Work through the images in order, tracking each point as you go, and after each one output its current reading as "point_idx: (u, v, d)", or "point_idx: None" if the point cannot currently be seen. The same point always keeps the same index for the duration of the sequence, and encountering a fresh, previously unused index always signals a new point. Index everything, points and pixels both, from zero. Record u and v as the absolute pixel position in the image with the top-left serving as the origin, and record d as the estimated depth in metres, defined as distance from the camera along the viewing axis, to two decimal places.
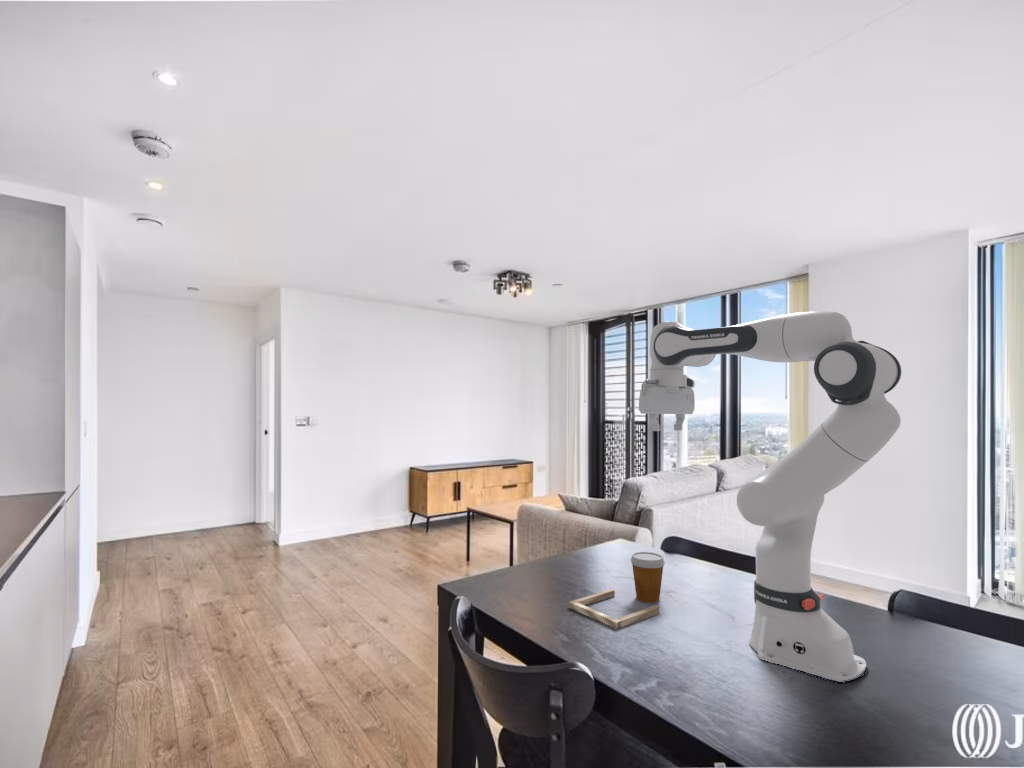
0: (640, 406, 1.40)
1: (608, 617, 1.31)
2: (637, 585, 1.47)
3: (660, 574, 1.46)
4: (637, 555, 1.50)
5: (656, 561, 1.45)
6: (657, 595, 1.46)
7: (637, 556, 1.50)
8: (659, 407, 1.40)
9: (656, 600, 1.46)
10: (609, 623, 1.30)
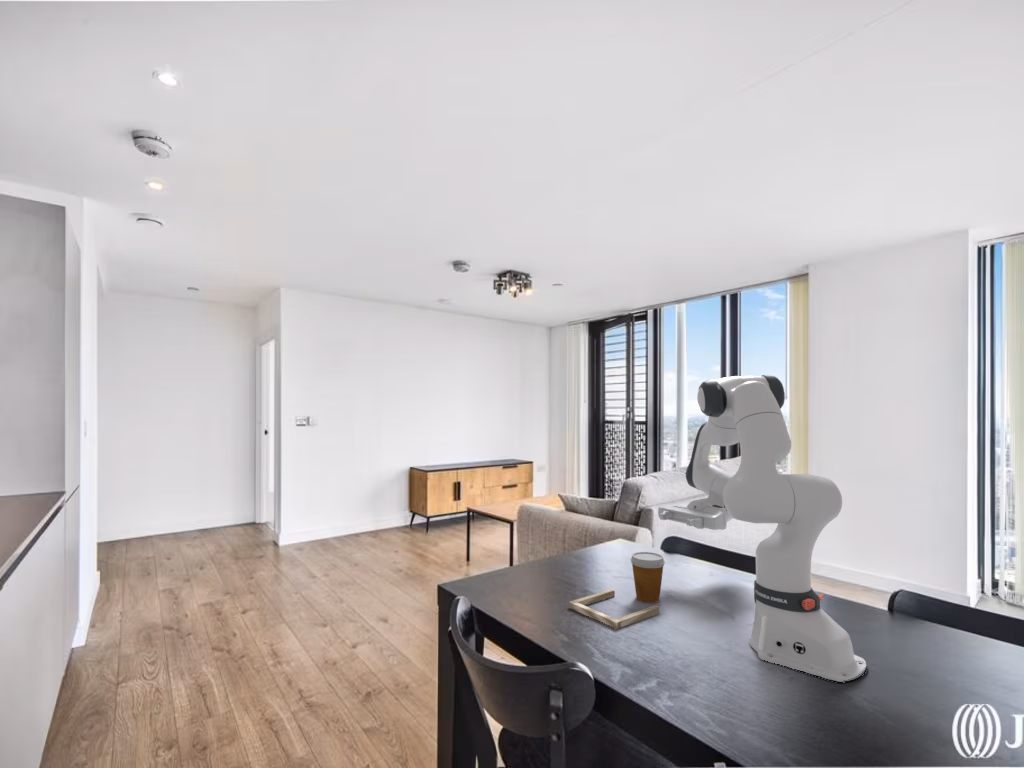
0: None
1: (608, 617, 1.31)
2: (637, 585, 1.47)
3: (660, 574, 1.46)
4: (637, 555, 1.50)
5: (656, 561, 1.45)
6: (657, 595, 1.46)
7: (637, 556, 1.50)
8: (671, 508, 1.65)
9: (656, 600, 1.46)
10: (609, 623, 1.30)
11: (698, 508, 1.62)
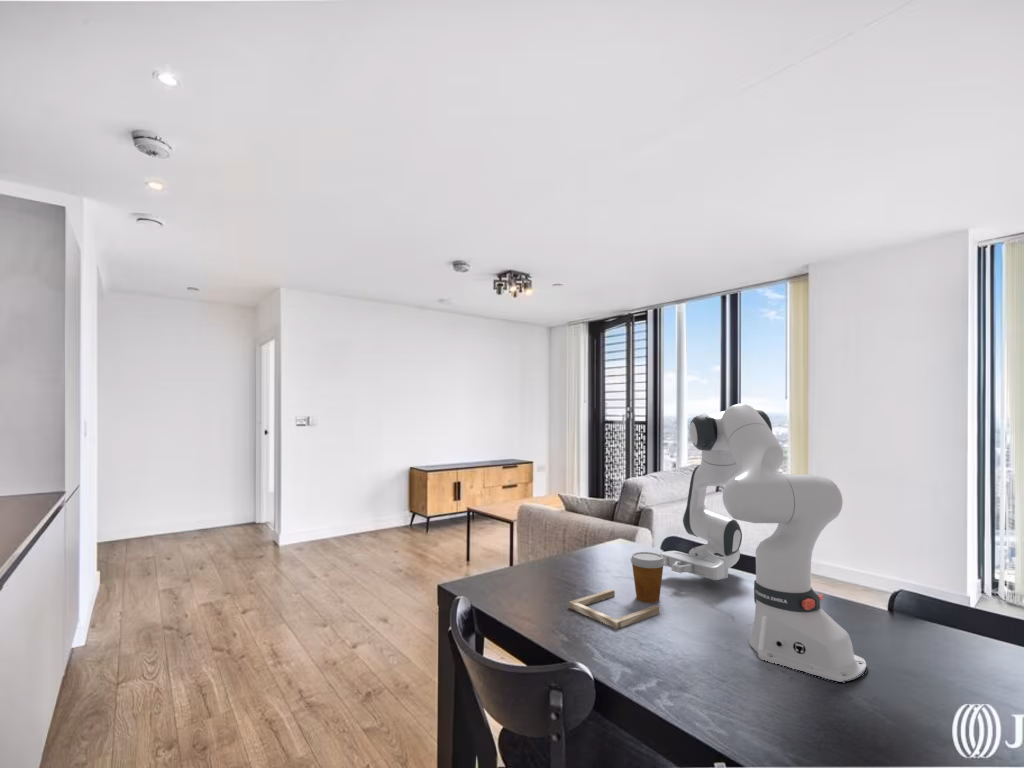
0: None
1: (608, 617, 1.31)
2: (637, 585, 1.47)
3: (660, 574, 1.46)
4: (637, 555, 1.50)
5: (656, 561, 1.45)
6: (657, 595, 1.46)
7: (637, 556, 1.50)
8: (672, 555, 1.65)
9: (656, 600, 1.46)
10: (609, 623, 1.30)
11: (699, 556, 1.62)
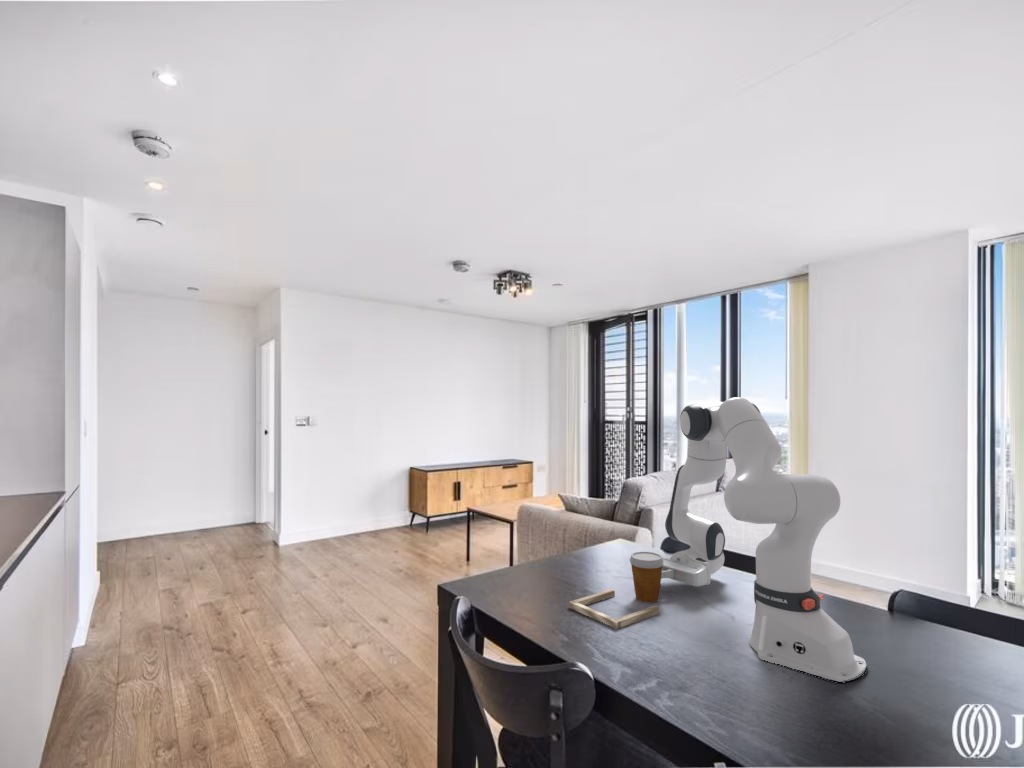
0: None
1: (608, 617, 1.31)
2: (636, 585, 1.47)
3: (659, 574, 1.45)
4: (636, 555, 1.50)
5: (655, 561, 1.44)
6: (656, 595, 1.46)
7: (636, 556, 1.49)
8: None
9: (655, 600, 1.46)
10: (609, 623, 1.30)
11: (681, 561, 1.56)
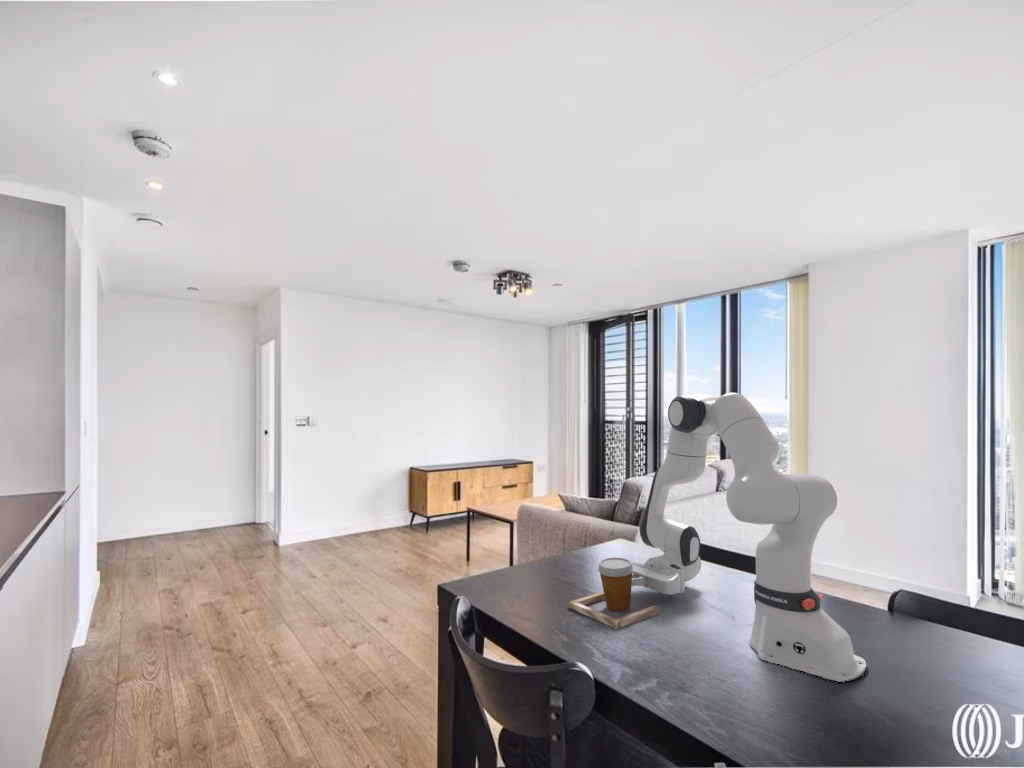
0: None
1: (608, 617, 1.31)
2: (606, 594, 1.40)
3: (628, 582, 1.38)
4: (605, 562, 1.43)
5: (623, 569, 1.37)
6: (627, 603, 1.39)
7: (604, 563, 1.42)
8: None
9: (626, 608, 1.39)
10: (609, 623, 1.30)
11: (655, 567, 1.49)
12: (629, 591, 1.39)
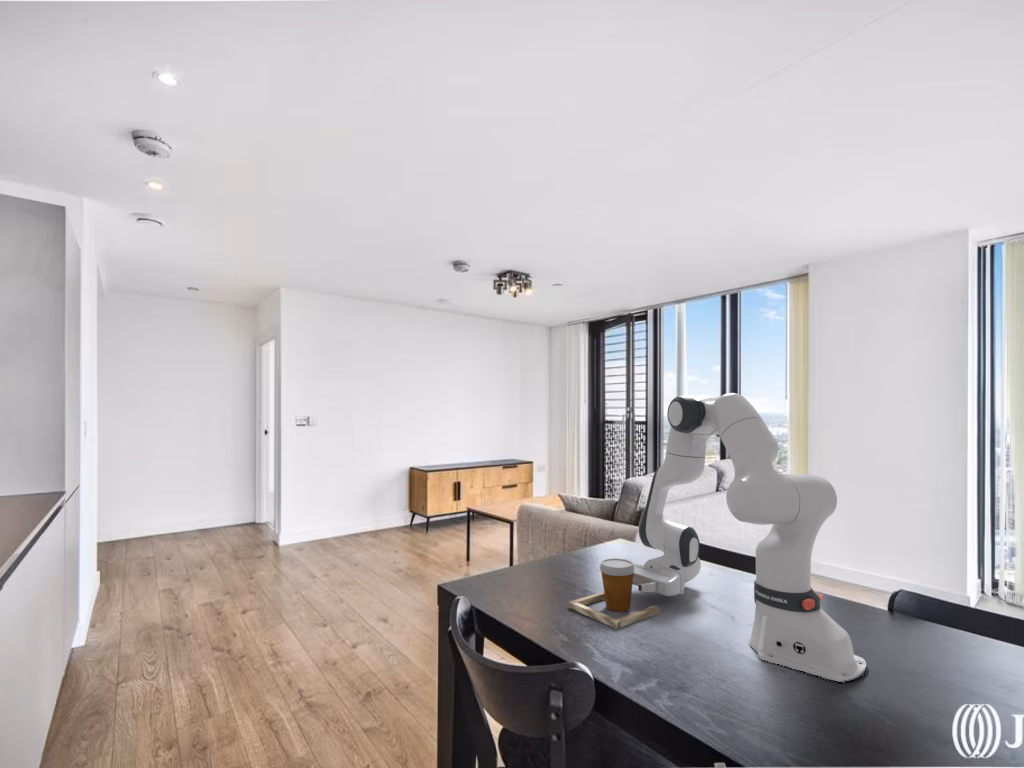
0: None
1: (608, 617, 1.31)
2: (606, 594, 1.40)
3: (629, 582, 1.39)
4: (606, 562, 1.44)
5: (625, 568, 1.38)
6: (627, 604, 1.39)
7: (606, 563, 1.43)
8: None
9: (626, 609, 1.39)
10: (609, 623, 1.30)
11: (654, 569, 1.49)
12: (630, 592, 1.39)
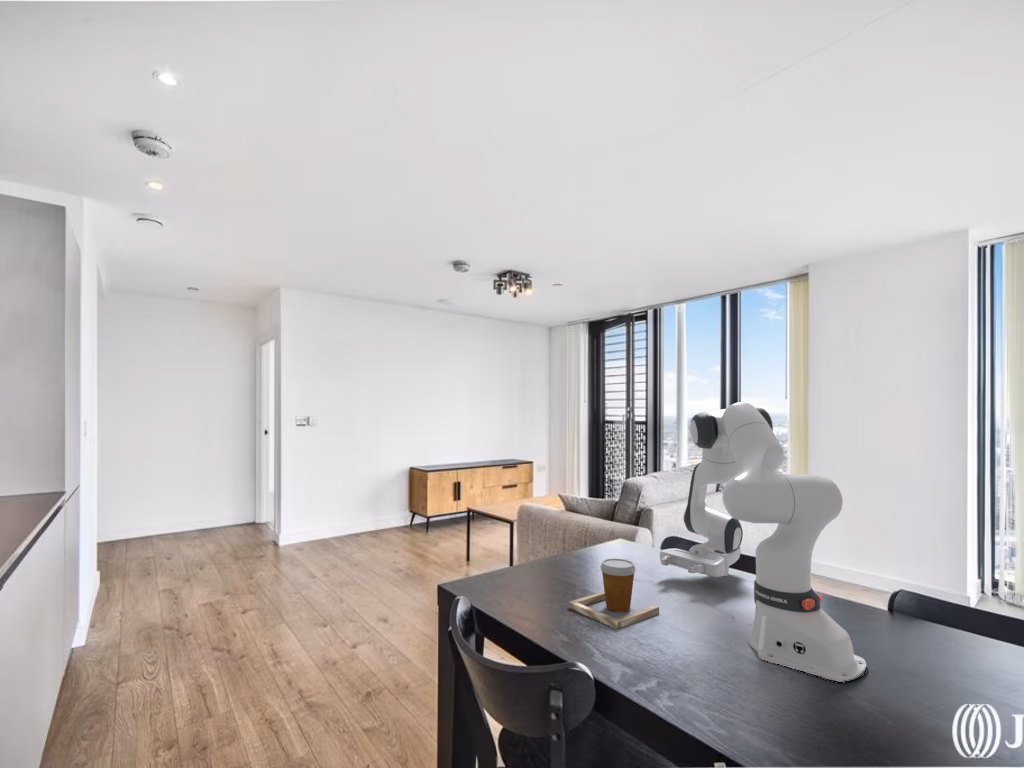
0: None
1: (608, 617, 1.31)
2: (606, 593, 1.40)
3: (630, 582, 1.39)
4: (607, 562, 1.44)
5: (626, 568, 1.38)
6: (627, 604, 1.39)
7: (607, 563, 1.43)
8: (672, 552, 1.65)
9: (626, 609, 1.39)
10: (609, 623, 1.30)
11: (700, 553, 1.62)
12: (630, 592, 1.39)
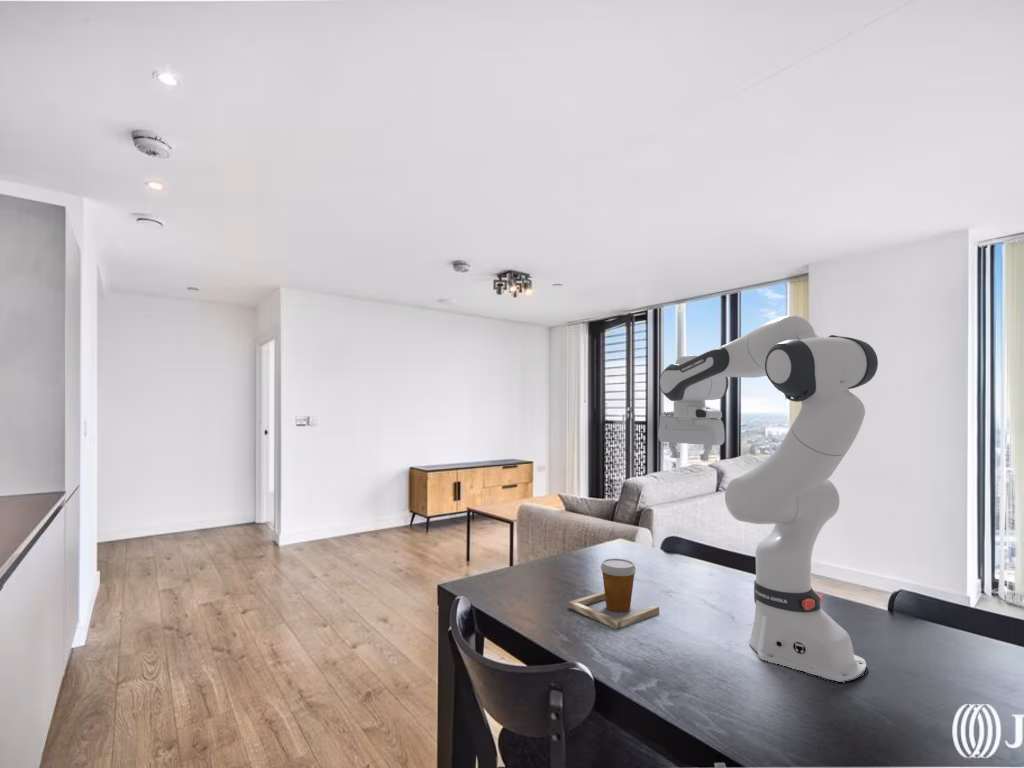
0: None
1: (608, 617, 1.31)
2: (606, 593, 1.40)
3: (630, 583, 1.39)
4: (608, 562, 1.44)
5: (626, 569, 1.38)
6: (627, 604, 1.39)
7: (607, 563, 1.43)
8: (669, 437, 1.56)
9: (626, 609, 1.39)
10: (609, 623, 1.30)
11: (688, 423, 1.50)
12: (630, 592, 1.39)
